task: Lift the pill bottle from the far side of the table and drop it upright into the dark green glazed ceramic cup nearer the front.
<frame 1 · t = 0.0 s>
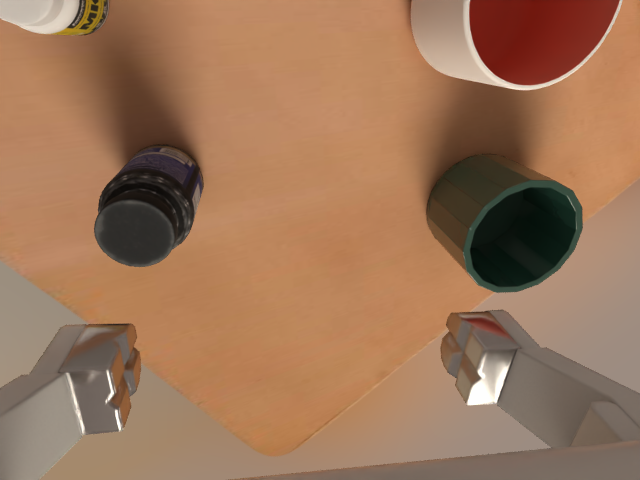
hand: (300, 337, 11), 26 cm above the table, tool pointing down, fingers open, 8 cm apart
green cup: (475, 204, 40), on the table
cup: (464, 9, 32), on the table
pill bottle: (168, 178, 35), on the table
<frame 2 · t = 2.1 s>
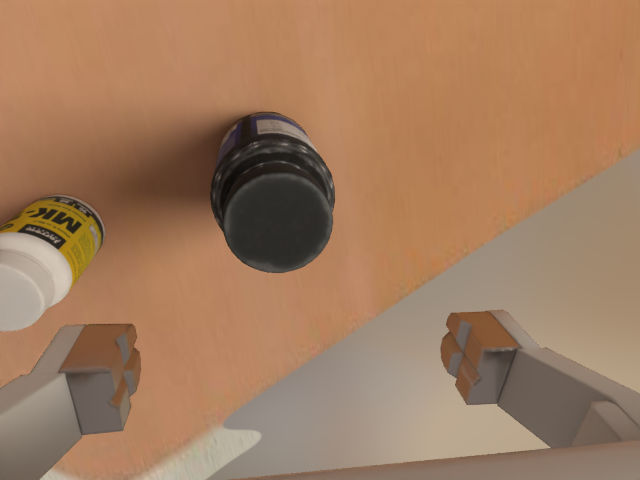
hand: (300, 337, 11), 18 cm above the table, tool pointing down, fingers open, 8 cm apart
supplement bottle: (68, 225, 27), on the table
pill bottle: (266, 156, 27), on the table
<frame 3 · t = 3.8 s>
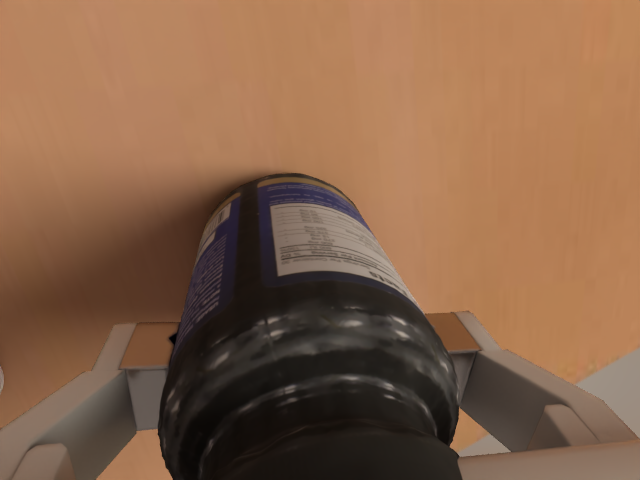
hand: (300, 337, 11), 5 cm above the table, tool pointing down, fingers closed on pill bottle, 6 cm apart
pill bottle: (285, 244, 15), on the table, touching gripper
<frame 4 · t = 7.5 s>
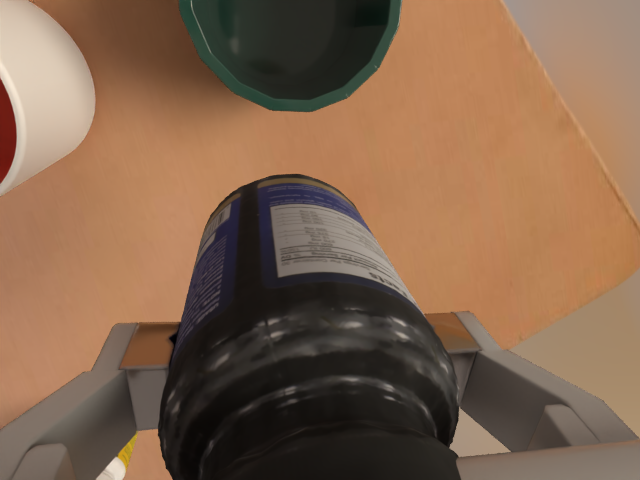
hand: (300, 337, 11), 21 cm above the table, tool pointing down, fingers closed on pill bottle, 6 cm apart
green cup: (283, 6, 25), on the table
supplement bottle: (117, 409, 38), on the table
cup: (16, 80, 25), on the table
pill bottle: (285, 245, 15), point 16 cm above the table, touching gripper
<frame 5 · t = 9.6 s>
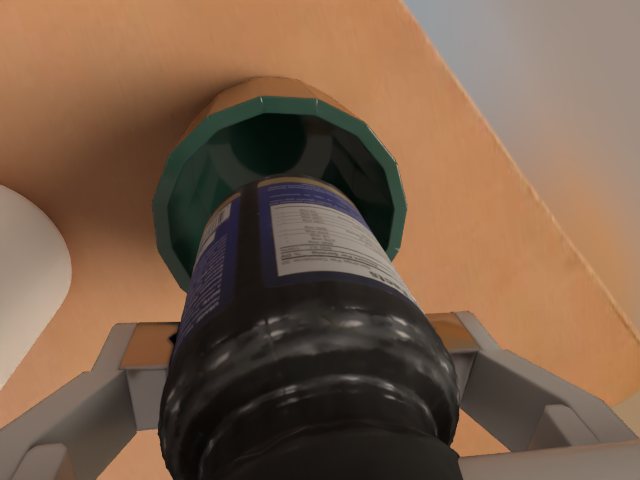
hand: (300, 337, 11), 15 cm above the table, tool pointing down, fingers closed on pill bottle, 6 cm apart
green cup: (275, 170, 24), on the table
pill bottle: (285, 244, 15), point 9 cm above the table, touching gripper
when the fingers open (11 cm above the table, at t = 11.3 s): pill bottle drops 5 cm, resting on green cup.
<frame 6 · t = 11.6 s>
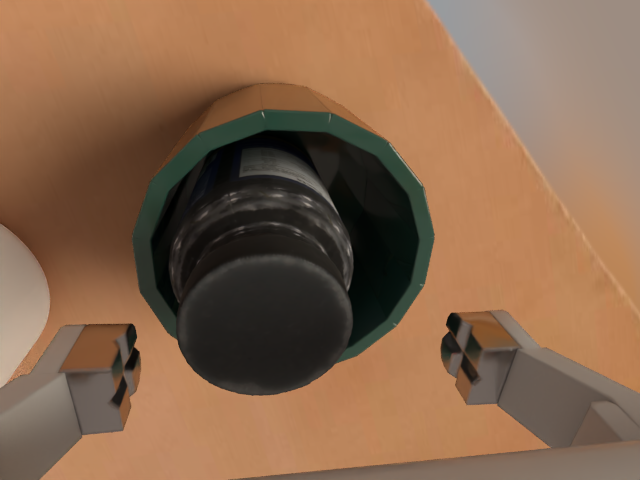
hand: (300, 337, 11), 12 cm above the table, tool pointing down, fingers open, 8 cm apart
green cup: (278, 187, 21), on the table
pill bottle: (260, 190, 21), resting on green cup
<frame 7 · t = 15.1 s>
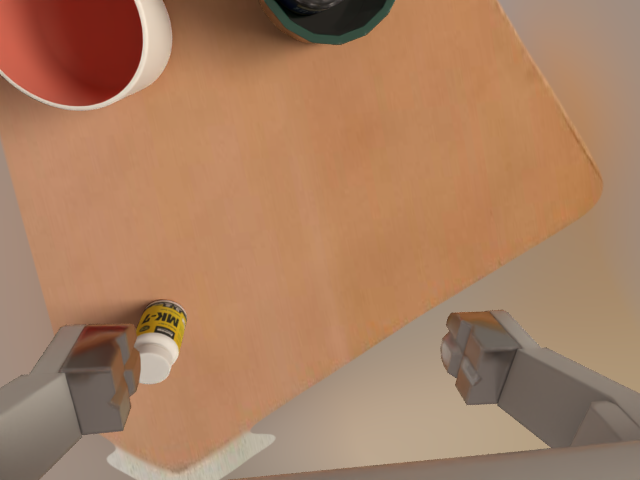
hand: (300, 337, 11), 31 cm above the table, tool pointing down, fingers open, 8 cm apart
supplement bottle: (165, 314, 46), on the table
cup: (111, 27, 33), on the table
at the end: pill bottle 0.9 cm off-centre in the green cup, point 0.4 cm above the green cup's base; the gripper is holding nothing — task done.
